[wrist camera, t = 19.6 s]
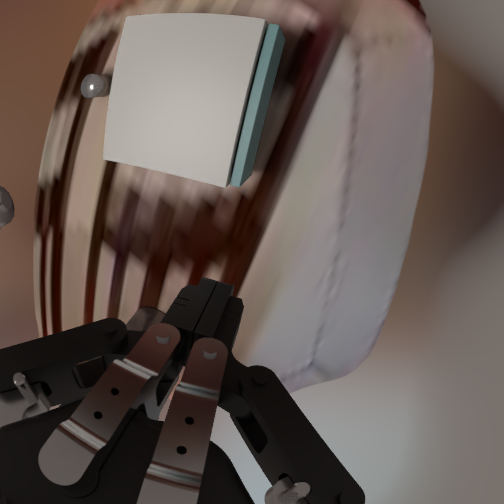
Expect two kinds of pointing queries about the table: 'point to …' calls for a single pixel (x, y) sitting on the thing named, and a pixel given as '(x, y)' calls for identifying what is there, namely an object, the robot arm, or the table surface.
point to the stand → (96, 85)
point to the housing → (182, 92)
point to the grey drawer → (257, 104)
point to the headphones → (5, 207)
